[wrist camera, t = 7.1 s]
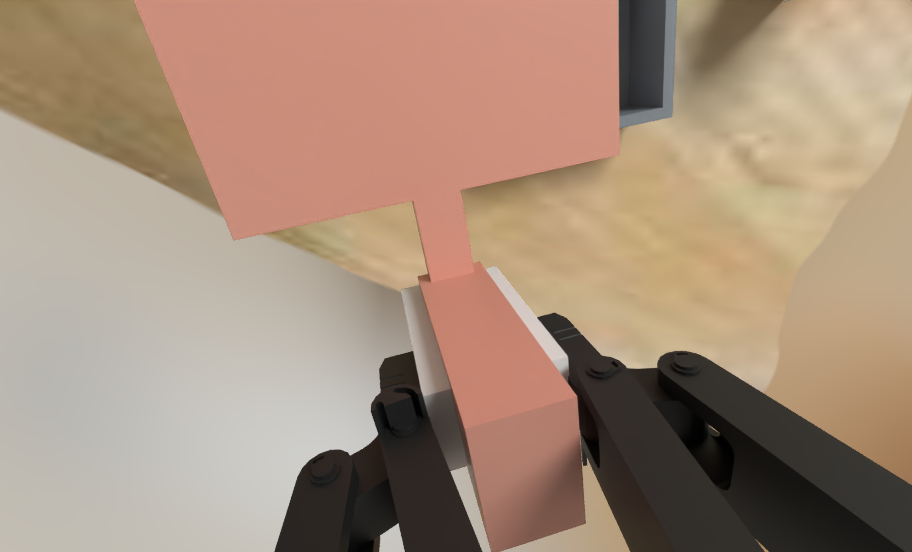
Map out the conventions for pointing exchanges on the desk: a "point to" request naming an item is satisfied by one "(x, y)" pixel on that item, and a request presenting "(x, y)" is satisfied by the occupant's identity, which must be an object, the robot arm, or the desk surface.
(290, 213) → the lid
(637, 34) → the tub
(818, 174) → the desk surface
